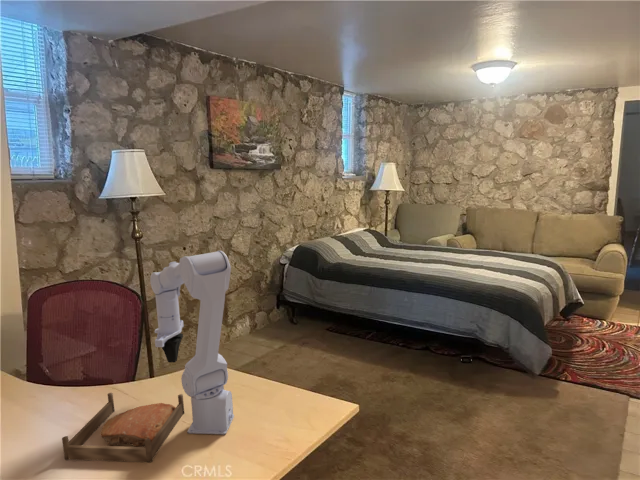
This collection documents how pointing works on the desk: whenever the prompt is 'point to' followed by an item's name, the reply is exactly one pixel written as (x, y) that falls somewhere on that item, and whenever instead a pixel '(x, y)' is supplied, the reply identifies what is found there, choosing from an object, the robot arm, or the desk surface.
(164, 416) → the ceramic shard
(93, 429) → the wooden square frame
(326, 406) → the desk surface
